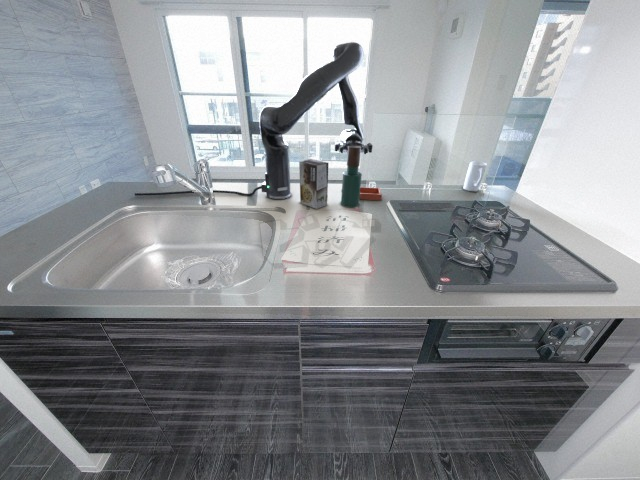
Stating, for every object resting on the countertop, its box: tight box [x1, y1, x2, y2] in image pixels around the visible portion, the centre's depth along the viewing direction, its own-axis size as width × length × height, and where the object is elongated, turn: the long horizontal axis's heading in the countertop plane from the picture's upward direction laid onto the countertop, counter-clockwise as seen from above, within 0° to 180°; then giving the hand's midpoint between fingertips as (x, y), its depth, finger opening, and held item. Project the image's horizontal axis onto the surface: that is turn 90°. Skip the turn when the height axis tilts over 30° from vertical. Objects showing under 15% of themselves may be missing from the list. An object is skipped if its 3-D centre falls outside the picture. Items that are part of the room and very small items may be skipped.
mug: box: [462, 160, 488, 192], centre depth 119 cm, size 10×7×12 cm, turn 173°
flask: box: [340, 165, 363, 208], centre depth 100 cm, size 7×7×15 cm
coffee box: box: [298, 158, 329, 210], centre depth 99 cm, size 9×6×16 cm
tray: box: [359, 186, 382, 201], centre depth 111 cm, size 9×8×2 cm
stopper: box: [346, 145, 362, 168], centre depth 95 cm, size 5×5×9 cm
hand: (353, 150), depth 97 cm, fingers open, 8 cm apart
